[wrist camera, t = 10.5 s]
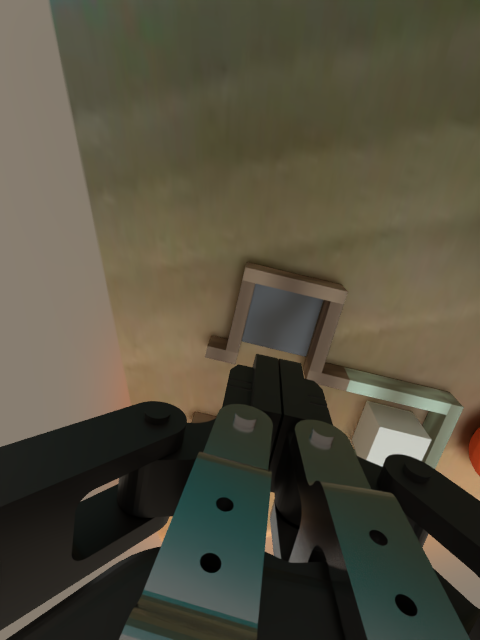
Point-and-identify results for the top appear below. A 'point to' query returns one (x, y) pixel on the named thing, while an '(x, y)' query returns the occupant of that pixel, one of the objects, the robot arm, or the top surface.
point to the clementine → (475, 450)
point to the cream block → (389, 434)
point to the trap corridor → (320, 345)
